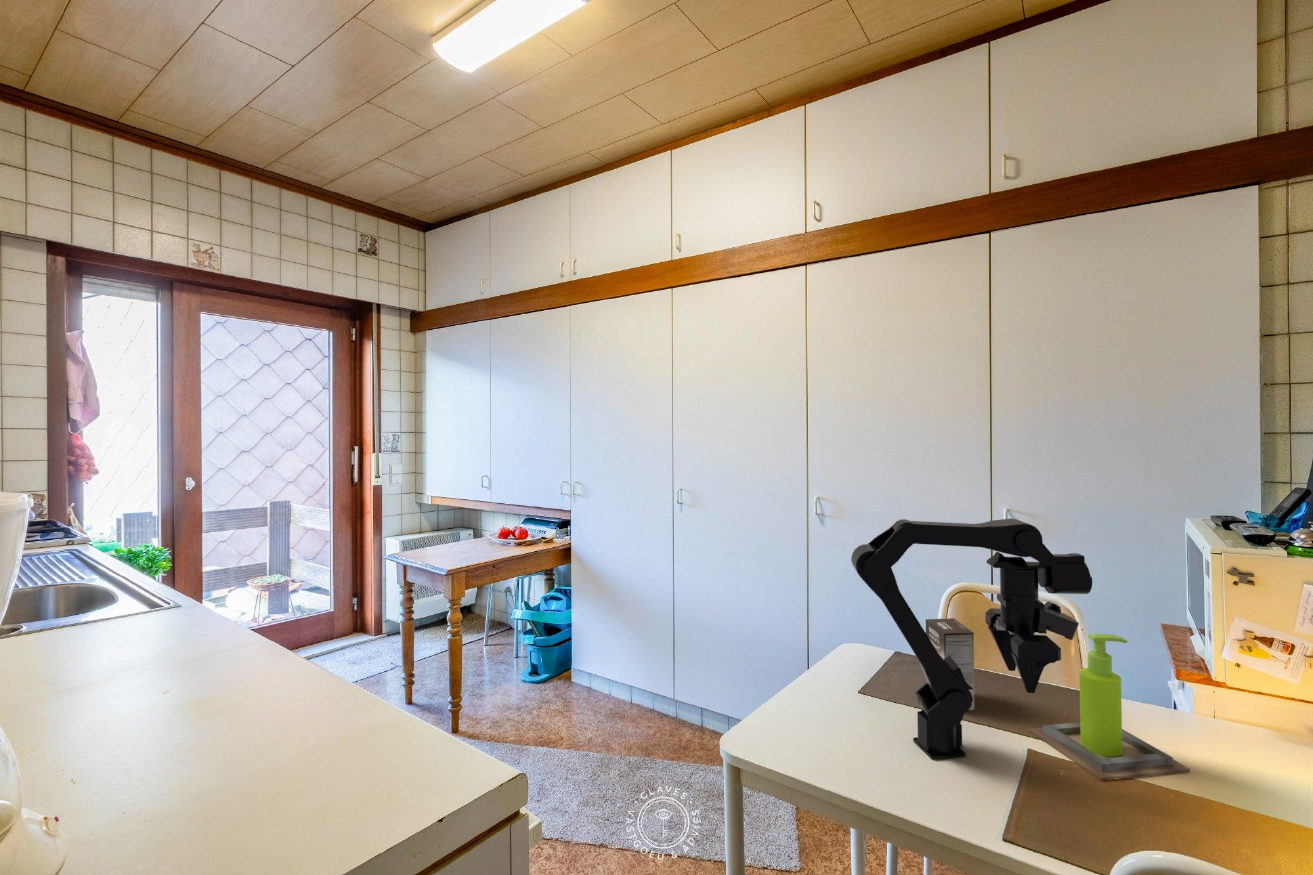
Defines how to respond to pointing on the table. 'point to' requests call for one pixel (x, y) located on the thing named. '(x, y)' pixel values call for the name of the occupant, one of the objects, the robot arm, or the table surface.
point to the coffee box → (954, 645)
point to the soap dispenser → (1101, 701)
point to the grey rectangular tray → (1131, 764)
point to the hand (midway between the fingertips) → (1020, 681)
